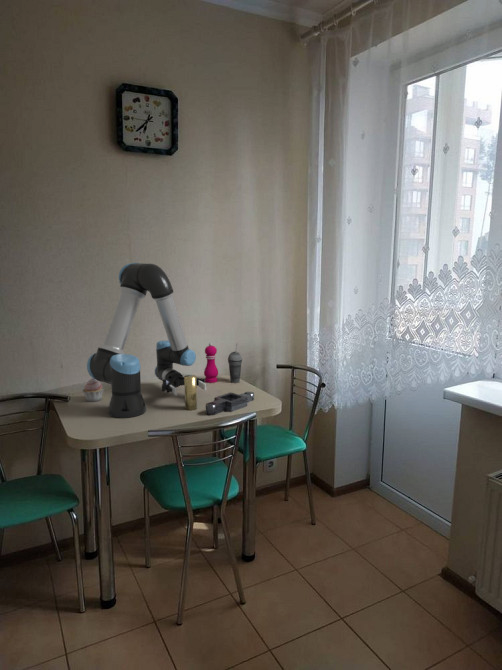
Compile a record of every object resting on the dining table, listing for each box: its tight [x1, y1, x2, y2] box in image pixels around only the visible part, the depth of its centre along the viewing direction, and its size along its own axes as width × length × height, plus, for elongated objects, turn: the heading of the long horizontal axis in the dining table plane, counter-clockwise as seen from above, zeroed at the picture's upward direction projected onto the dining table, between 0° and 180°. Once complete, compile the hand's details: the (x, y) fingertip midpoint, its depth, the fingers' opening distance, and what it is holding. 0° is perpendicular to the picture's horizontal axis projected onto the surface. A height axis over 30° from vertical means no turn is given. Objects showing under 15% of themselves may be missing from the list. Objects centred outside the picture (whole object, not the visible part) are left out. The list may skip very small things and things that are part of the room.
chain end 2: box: [226, 391, 255, 412], centre depth 212 cm, size 19×10×3 cm, turn 139°
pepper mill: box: [203, 342, 219, 384], centre depth 245 cm, size 7×7×20 cm
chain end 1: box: [205, 392, 248, 416], centre depth 205 cm, size 19×10×4 cm, turn 139°
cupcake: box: [82, 377, 105, 403], centre depth 217 cm, size 9×9×10 cm
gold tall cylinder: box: [183, 374, 198, 411], centre depth 205 cm, size 5×5×14 cm
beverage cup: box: [227, 342, 243, 384], centre depth 244 cm, size 7×7×20 cm
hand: (191, 389), depth 207 cm, fingers open, 13 cm apart
